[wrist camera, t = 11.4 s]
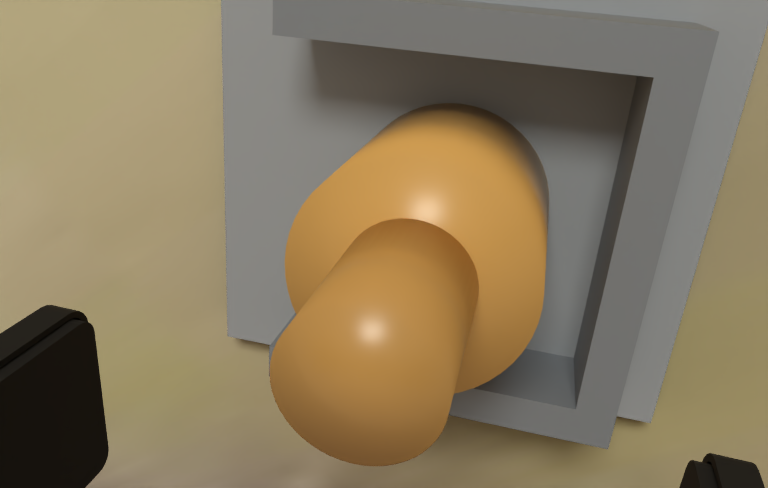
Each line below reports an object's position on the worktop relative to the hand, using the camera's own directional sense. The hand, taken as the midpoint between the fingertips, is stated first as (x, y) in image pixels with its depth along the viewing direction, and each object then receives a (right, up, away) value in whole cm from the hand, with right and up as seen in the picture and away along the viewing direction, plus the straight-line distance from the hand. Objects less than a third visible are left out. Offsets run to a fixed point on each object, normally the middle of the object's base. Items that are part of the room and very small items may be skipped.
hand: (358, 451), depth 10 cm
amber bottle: (+3, +5, +12) cm, 13 cm away
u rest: (+3, +5, +13) cm, 14 cm away
